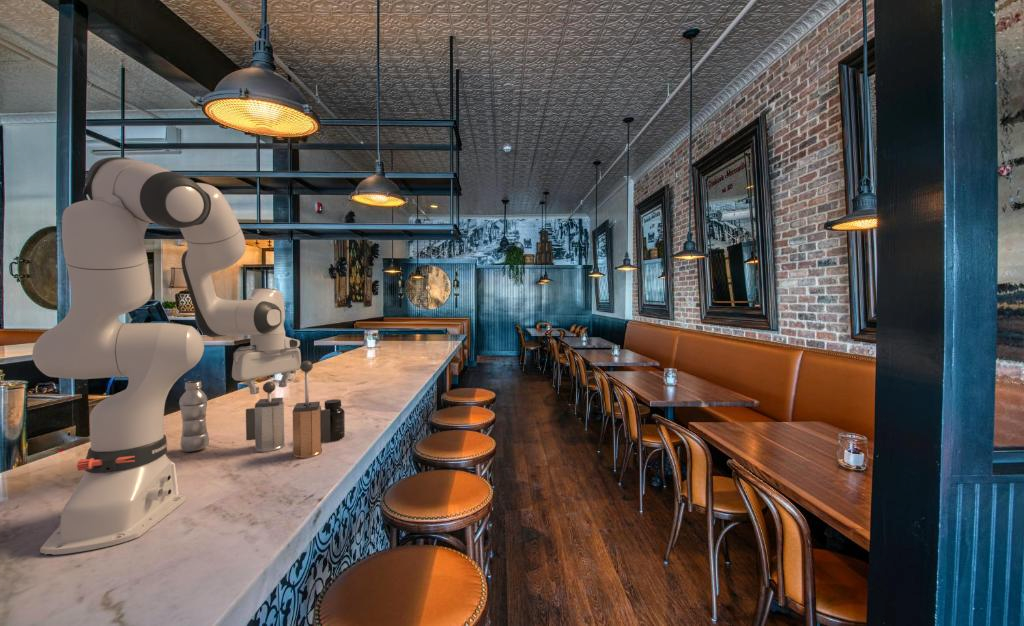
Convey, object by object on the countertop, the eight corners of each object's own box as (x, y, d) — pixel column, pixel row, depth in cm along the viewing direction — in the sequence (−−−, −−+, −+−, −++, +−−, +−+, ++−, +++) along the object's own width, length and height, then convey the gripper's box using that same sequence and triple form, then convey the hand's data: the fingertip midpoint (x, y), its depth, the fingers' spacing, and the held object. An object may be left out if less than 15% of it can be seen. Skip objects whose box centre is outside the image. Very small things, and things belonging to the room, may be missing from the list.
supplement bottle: (316, 440, 125) (315, 402, 125) (332, 433, 132) (331, 397, 131) (334, 443, 123) (333, 404, 123) (349, 436, 130) (349, 399, 129)
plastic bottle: (197, 454, 114) (195, 384, 113) (174, 454, 114) (172, 384, 113) (214, 446, 120) (213, 379, 120) (192, 446, 121) (190, 379, 120)
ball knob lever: (314, 409, 117) (313, 359, 116) (312, 412, 114) (312, 361, 113) (301, 410, 116) (300, 360, 115) (300, 413, 113) (299, 361, 112)
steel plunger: (262, 433, 117) (261, 383, 117) (264, 429, 120) (264, 381, 120) (275, 431, 119) (274, 382, 118) (277, 428, 122) (276, 380, 121)
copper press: (331, 446, 121) (330, 400, 120) (329, 455, 114) (328, 406, 113) (295, 450, 117) (294, 402, 117) (291, 460, 110) (290, 409, 110)
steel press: (243, 454, 114) (242, 405, 114) (250, 445, 121) (249, 399, 121) (282, 450, 117) (281, 402, 117) (286, 441, 124) (285, 396, 124)
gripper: (242, 348, 108) (243, 399, 108) (304, 340, 127) (304, 384, 128) (225, 347, 110) (226, 397, 110) (288, 339, 129) (289, 382, 130)
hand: (269, 390), depth 119 cm, fingers open, 8 cm apart
